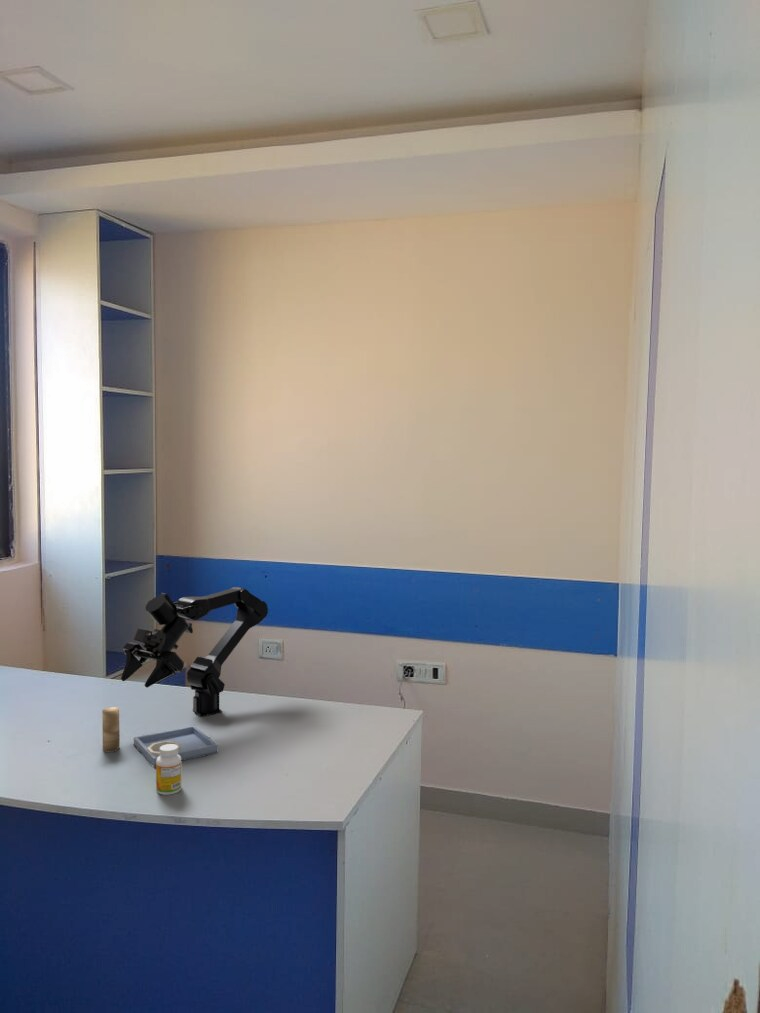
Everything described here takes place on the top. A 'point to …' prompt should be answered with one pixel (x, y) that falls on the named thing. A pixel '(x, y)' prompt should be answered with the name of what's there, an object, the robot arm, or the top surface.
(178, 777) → the supplement bottle
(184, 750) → the tray
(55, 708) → the top surface
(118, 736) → the peg
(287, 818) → the top surface
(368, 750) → the top surface
